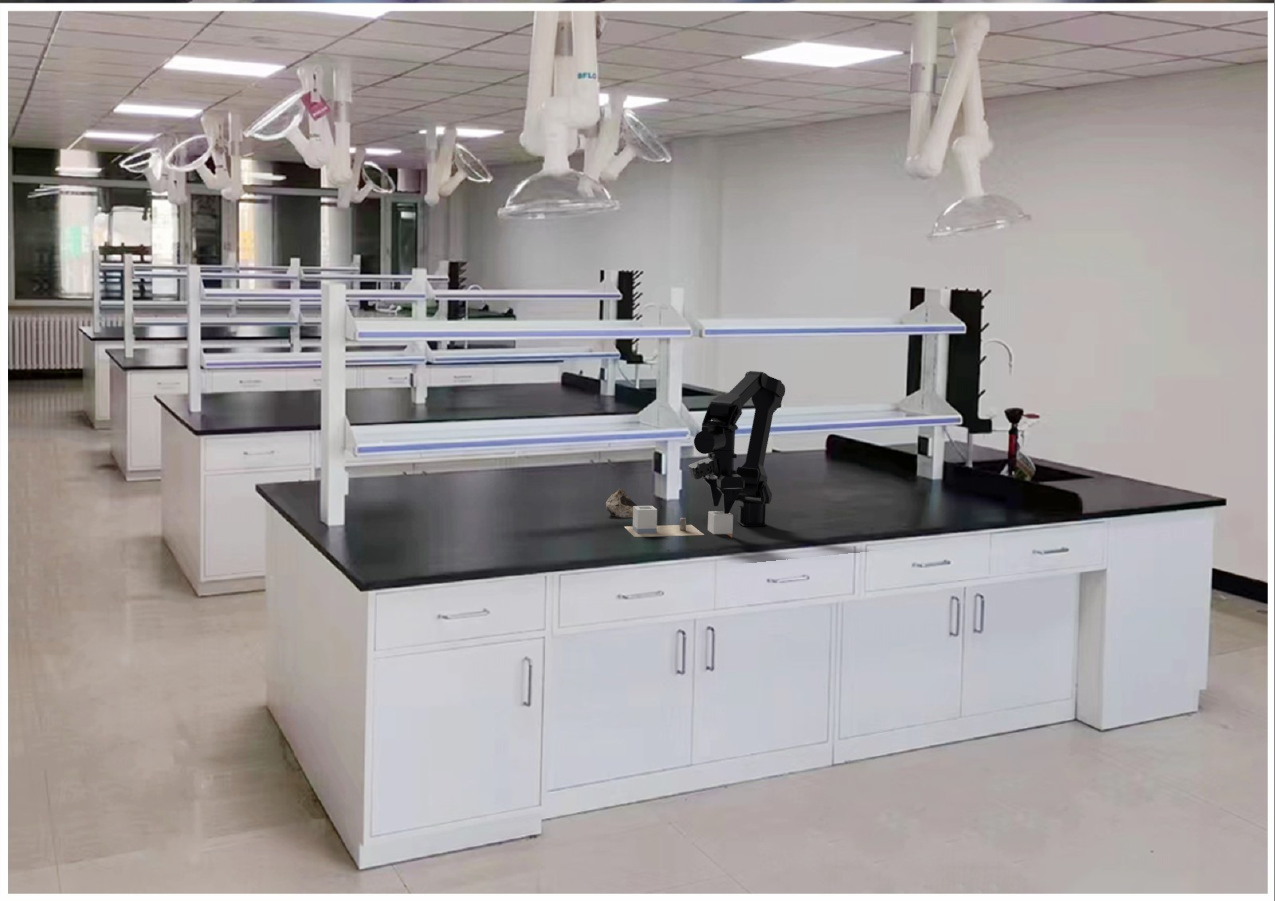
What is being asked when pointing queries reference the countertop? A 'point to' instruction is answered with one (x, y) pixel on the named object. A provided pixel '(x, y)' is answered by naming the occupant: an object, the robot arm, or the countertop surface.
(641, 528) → the seated sleeve
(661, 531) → the pin board
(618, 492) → the rock
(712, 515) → the banded sleeve
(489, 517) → the countertop surface
